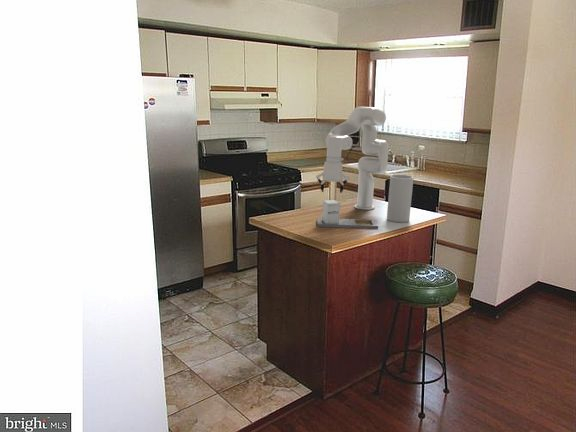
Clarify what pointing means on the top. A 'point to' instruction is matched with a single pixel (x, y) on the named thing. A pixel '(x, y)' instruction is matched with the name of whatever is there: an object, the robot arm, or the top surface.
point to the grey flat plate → (350, 223)
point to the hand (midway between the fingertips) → (331, 191)
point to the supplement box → (331, 212)
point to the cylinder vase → (399, 198)
